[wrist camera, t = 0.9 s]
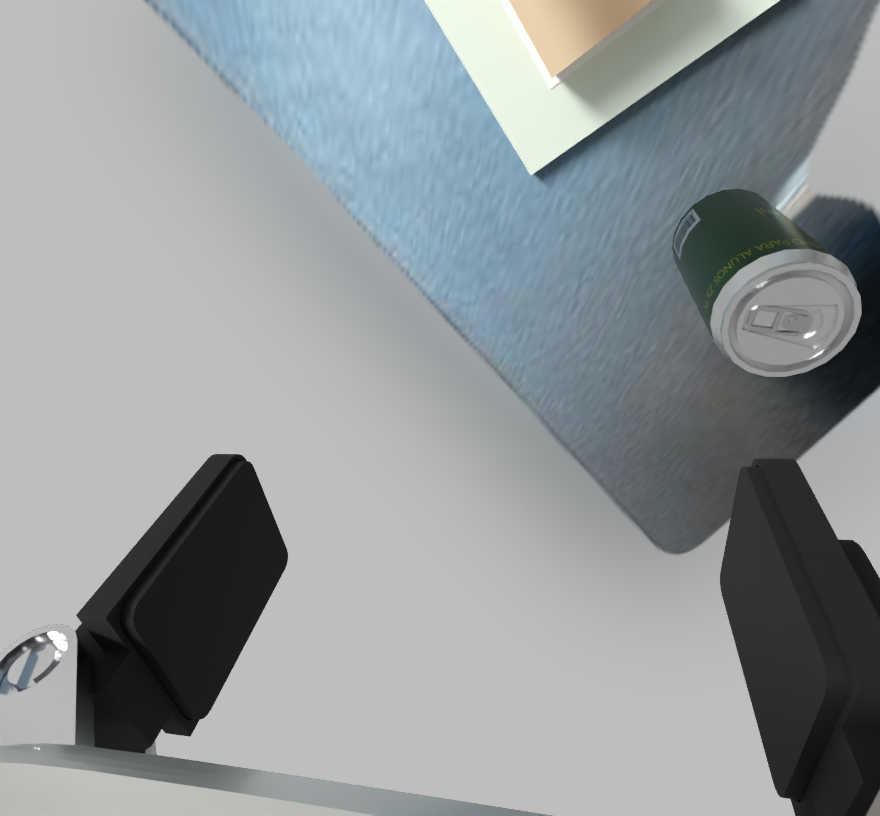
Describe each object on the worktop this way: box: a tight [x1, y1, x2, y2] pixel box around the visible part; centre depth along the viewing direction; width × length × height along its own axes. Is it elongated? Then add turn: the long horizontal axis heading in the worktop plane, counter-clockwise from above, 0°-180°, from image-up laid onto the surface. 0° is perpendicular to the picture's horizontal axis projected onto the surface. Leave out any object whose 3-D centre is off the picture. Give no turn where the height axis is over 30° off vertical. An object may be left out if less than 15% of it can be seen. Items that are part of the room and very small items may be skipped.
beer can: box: [672, 189, 862, 377], centre depth 27 cm, size 5×5×12 cm
